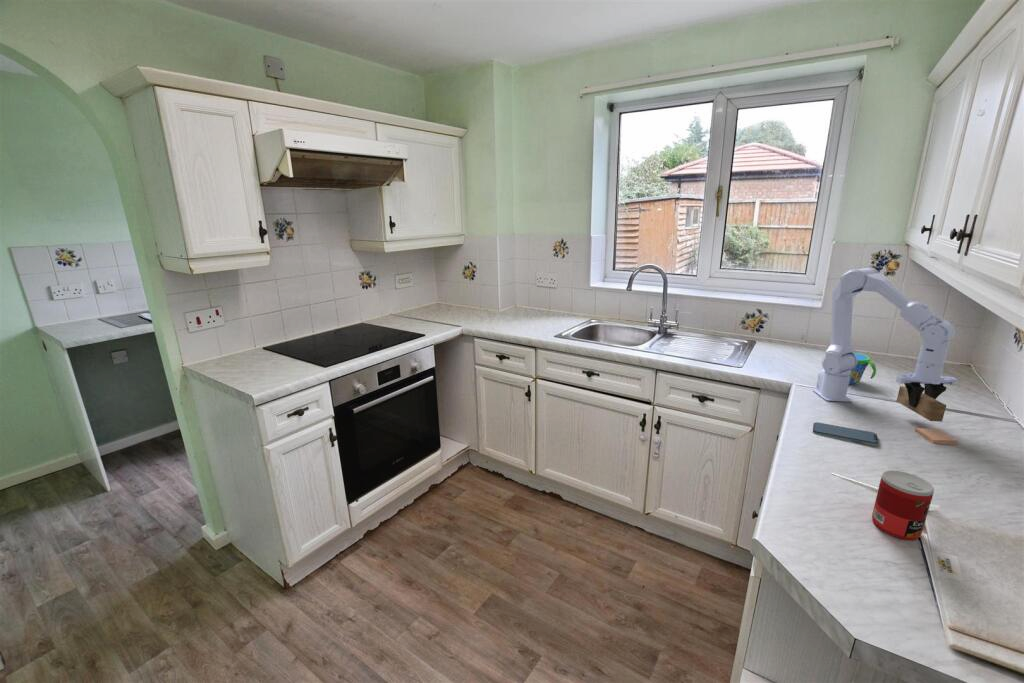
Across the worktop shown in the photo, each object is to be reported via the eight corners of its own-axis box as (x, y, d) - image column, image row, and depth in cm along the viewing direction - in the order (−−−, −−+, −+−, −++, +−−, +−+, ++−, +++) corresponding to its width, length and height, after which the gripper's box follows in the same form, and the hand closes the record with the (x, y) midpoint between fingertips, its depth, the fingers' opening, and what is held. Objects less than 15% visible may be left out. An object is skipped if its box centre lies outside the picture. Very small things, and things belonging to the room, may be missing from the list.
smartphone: (813, 421, 137) (876, 432, 129) (813, 426, 137) (875, 437, 129) (812, 431, 131) (878, 443, 123) (812, 436, 131) (877, 449, 123)
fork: (832, 473, 113) (833, 466, 112) (939, 512, 98) (941, 504, 97) (827, 478, 111) (828, 471, 111) (936, 518, 96) (938, 510, 95)
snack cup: (878, 385, 165) (884, 359, 162) (862, 391, 160) (868, 363, 157) (832, 372, 178) (837, 347, 175) (816, 377, 173) (821, 352, 170)
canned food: (914, 547, 87) (928, 498, 84) (864, 524, 94) (876, 478, 91) (925, 530, 92) (939, 483, 89) (878, 510, 98) (889, 465, 95)
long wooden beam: (896, 401, 141) (900, 386, 140) (907, 401, 141) (910, 386, 139) (930, 421, 128) (934, 404, 126) (942, 421, 127) (946, 405, 126)
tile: (915, 428, 131) (933, 439, 125) (938, 428, 130) (958, 440, 124) (914, 433, 132) (932, 444, 125) (937, 433, 131) (956, 445, 124)
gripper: (912, 366, 127) (901, 411, 131) (970, 368, 125) (957, 413, 129) (895, 358, 134) (885, 401, 138) (950, 360, 132) (938, 402, 136)
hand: (919, 406), depth 134 cm, fingers closed on long wooden beam, 3 cm apart
